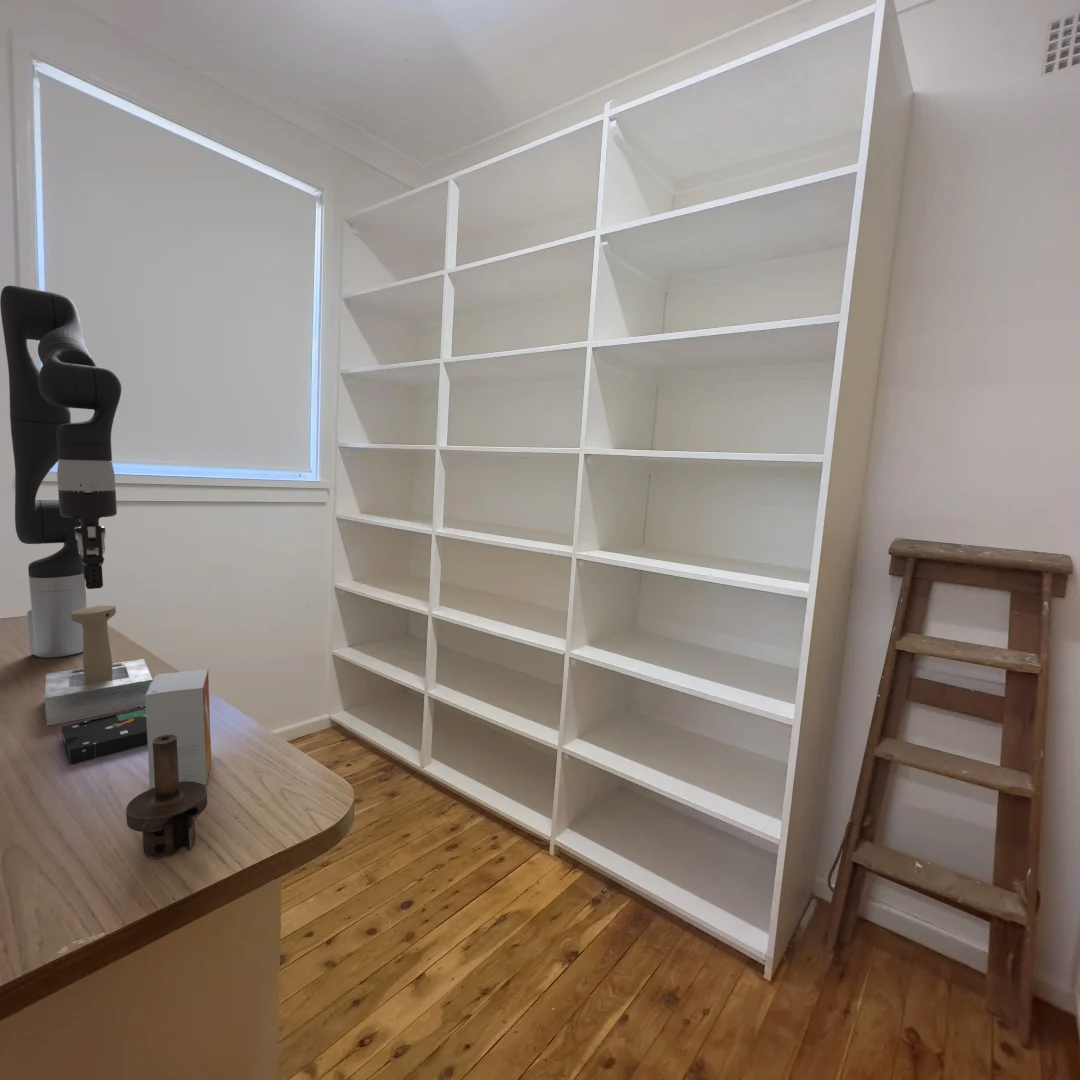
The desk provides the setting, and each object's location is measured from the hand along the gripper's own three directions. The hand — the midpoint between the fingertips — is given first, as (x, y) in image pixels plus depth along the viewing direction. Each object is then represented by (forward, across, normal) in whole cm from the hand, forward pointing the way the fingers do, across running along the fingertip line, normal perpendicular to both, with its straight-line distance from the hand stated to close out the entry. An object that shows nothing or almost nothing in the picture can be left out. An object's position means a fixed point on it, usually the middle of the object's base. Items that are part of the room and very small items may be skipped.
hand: (93, 583), depth 97 cm
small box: (+21, +37, +7) cm, 43 cm away
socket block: (+21, 0, 0) cm, 21 cm away
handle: (+20, 0, 0) cm, 20 cm away
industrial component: (+20, +52, +4) cm, 56 cm away
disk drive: (+21, +19, +2) cm, 29 cm away
